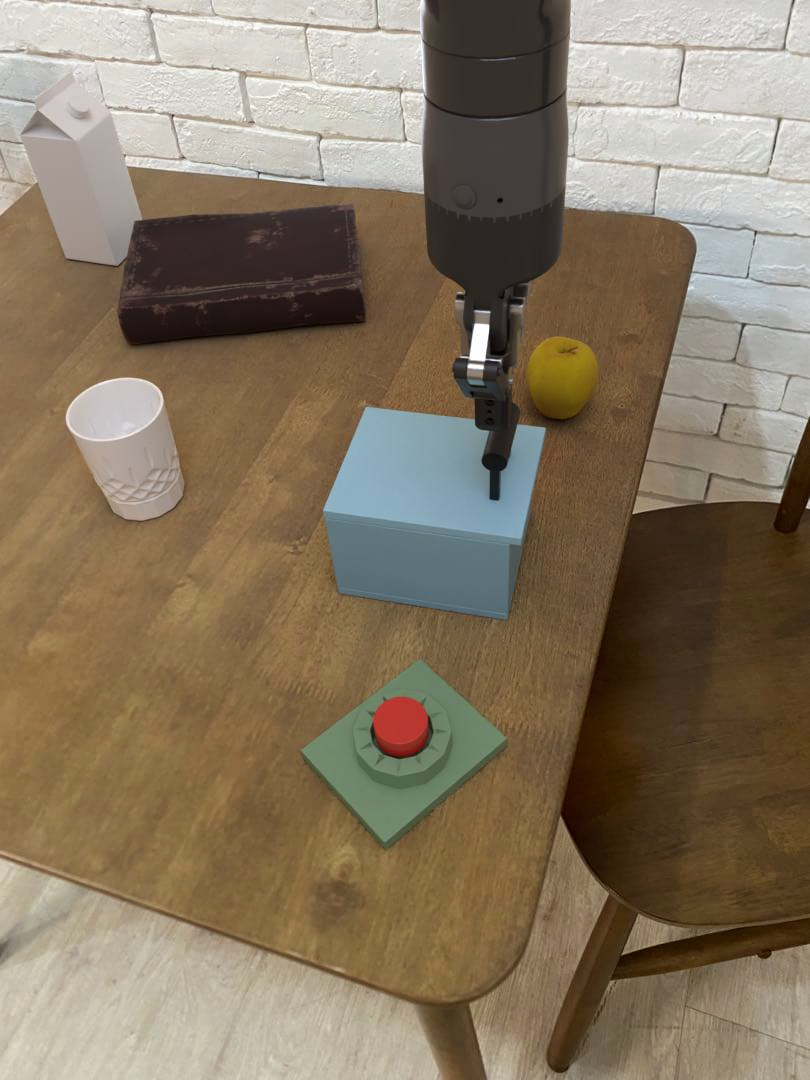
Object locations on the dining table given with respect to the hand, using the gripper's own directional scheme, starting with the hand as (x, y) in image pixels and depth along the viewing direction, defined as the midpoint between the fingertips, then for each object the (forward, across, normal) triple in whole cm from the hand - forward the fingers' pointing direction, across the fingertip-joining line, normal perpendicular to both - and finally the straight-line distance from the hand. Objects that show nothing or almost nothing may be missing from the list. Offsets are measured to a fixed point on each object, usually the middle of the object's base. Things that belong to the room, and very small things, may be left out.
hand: (493, 423), depth 62 cm
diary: (+16, +36, +34) cm, 52 cm away
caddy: (+16, +2, +5) cm, 17 cm away
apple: (+17, +21, -3) cm, 27 cm away
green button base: (+16, -16, +3) cm, 23 cm away
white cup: (+16, +4, +32) cm, 36 cm away
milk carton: (+16, +42, +54) cm, 70 cm away
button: (+14, -16, +3) cm, 22 cm away
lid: (+8, +2, +5) cm, 9 cm away
